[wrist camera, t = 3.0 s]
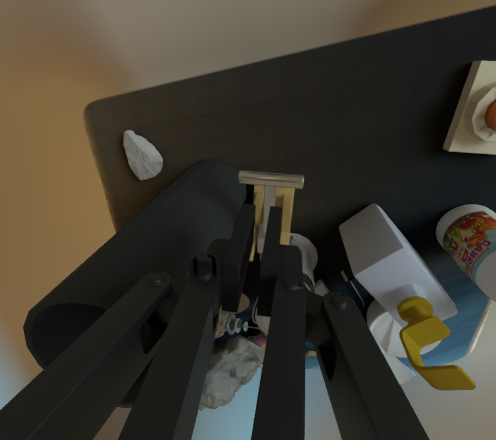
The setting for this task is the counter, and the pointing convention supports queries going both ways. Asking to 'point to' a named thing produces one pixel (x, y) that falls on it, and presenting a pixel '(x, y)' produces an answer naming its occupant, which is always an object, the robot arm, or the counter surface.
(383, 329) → the ramekin
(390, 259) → the soap bottle
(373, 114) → the counter surface
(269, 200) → the lever
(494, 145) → the button block
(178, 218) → the vase
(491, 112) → the button
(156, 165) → the stone
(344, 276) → the knife
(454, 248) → the milk bottle
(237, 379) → the stone
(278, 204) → the bracket
